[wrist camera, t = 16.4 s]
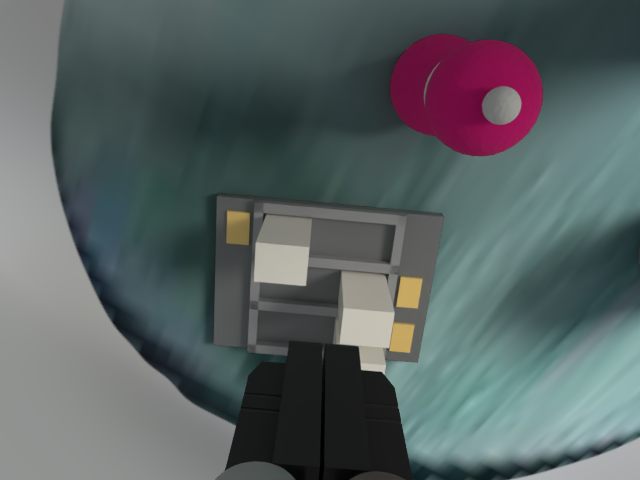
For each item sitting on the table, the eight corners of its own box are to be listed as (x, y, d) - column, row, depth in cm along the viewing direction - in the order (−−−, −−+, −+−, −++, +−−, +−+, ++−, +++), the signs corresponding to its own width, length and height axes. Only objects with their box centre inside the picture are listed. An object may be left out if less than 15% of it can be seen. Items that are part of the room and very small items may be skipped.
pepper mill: (489, 91, 43) (615, 123, 24) (415, 144, 44) (480, 212, 25) (442, 16, 41) (539, -15, 22) (367, 73, 42) (398, 91, 24)
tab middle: (384, 273, 47) (394, 312, 40) (380, 304, 48) (389, 348, 41) (341, 269, 47) (343, 308, 40) (337, 301, 48) (339, 343, 41)
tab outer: (377, 320, 49) (385, 365, 42) (373, 349, 50) (380, 397, 43) (335, 316, 49) (336, 360, 42) (332, 345, 50) (332, 393, 43)
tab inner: (312, 216, 46) (309, 247, 38) (309, 250, 47) (305, 286, 40) (267, 212, 45) (255, 242, 38) (265, 246, 47) (253, 281, 40)
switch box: (441, 213, 46) (446, 219, 45) (416, 356, 51) (419, 367, 50) (219, 193, 46) (214, 198, 44) (215, 339, 51) (211, 349, 49)
